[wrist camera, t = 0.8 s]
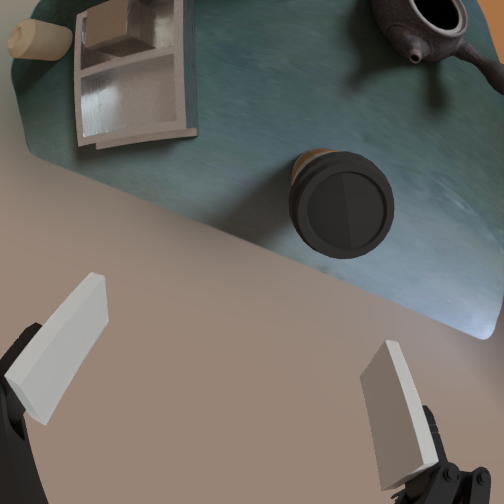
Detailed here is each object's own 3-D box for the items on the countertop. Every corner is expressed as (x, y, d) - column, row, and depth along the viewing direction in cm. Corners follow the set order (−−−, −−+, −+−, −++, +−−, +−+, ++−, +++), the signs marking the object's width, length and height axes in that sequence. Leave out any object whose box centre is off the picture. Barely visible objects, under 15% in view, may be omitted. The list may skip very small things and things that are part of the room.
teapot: (342, 41, 26) (366, 16, 17) (386, -32, 19) (414, -64, 10) (458, 128, 28) (505, 138, 19) (490, 52, 22) (534, 47, 13)
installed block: (121, 24, 25) (87, 9, 18) (157, 14, 24) (128, -7, 17) (120, 57, 27) (84, 47, 20) (156, 48, 27) (126, 33, 19)
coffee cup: (291, 212, 36) (301, 274, 22) (276, 146, 32) (278, 166, 19) (356, 200, 34) (402, 254, 21) (345, 134, 31) (395, 147, 17)
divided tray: (97, 16, 25) (77, 8, 20) (195, -10, 24) (183, -26, 19) (100, 148, 33) (79, 154, 29) (199, 135, 32) (187, 138, 28)
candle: (66, 21, 24) (22, 9, 15) (78, 42, 26) (31, 32, 17) (43, 46, 26) (-2, 41, 17) (53, 68, 28) (6, 66, 19)
